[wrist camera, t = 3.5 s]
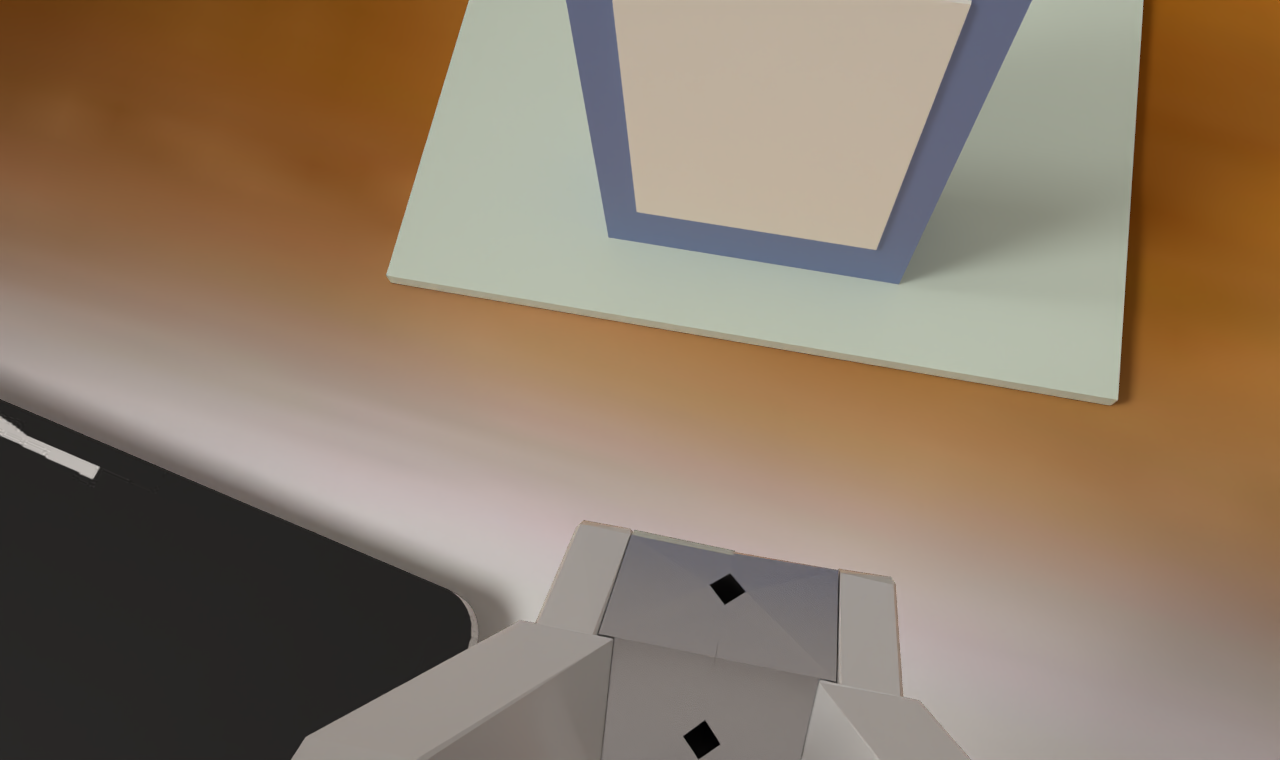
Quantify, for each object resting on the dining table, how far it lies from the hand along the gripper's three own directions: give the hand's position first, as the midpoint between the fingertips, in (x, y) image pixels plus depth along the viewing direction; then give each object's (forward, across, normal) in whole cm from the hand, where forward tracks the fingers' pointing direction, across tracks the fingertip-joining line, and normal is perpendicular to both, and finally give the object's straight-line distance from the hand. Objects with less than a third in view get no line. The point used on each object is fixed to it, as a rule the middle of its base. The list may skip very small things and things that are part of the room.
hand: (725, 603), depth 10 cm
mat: (+18, -1, +2) cm, 18 cm away
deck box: (+15, -1, 0) cm, 15 cm away
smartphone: (+7, -13, -10) cm, 17 cm away
